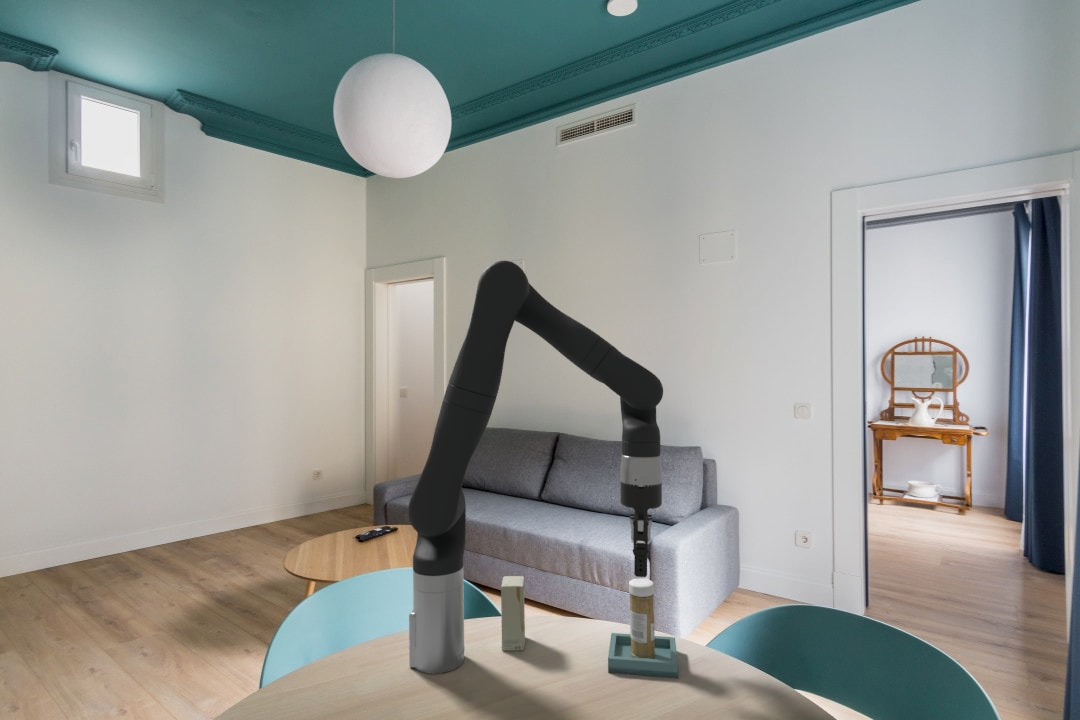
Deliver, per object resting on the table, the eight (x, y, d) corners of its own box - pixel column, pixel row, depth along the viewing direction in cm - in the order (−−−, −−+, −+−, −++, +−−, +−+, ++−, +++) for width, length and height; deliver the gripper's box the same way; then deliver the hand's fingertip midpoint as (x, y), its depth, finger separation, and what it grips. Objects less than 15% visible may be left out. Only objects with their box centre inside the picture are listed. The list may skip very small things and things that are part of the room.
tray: (608, 672, 101) (608, 658, 101) (611, 645, 111) (611, 632, 111) (678, 678, 99) (677, 663, 99) (675, 650, 109) (675, 637, 109)
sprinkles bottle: (660, 657, 104) (659, 582, 105) (642, 664, 102) (640, 588, 102) (643, 647, 108) (641, 575, 108) (624, 654, 106) (623, 580, 106)
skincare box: (524, 651, 109) (523, 586, 110) (501, 651, 109) (500, 587, 110) (525, 635, 116) (524, 574, 116) (503, 636, 116) (503, 575, 116)
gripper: (622, 472, 113) (622, 554, 113) (618, 486, 99) (618, 580, 99) (660, 473, 112) (660, 557, 112) (662, 488, 98) (662, 583, 98)
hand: (641, 567), depth 105 cm, fingers open, 8 cm apart
